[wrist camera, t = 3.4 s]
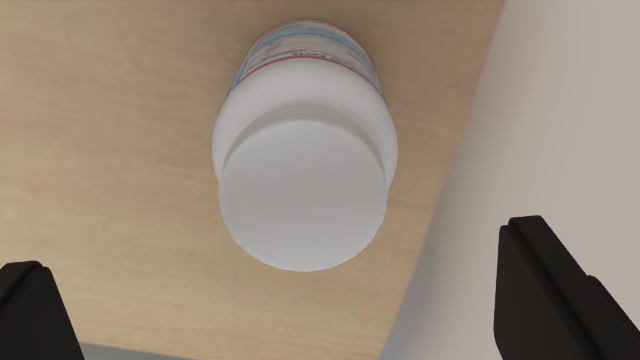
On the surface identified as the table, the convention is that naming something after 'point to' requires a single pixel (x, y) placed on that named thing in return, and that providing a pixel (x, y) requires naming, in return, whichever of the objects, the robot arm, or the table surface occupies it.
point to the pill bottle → (304, 149)
